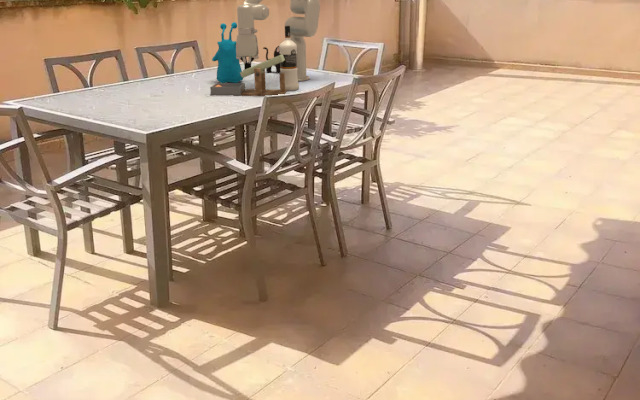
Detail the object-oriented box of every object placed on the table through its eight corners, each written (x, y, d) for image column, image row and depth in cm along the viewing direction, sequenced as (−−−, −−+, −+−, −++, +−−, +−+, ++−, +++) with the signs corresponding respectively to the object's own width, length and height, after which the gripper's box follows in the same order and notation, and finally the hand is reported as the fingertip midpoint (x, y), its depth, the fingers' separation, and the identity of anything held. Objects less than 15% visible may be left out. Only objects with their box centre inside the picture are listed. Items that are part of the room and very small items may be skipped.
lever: (289, 59, 330) (285, 51, 328) (284, 64, 314) (280, 55, 313) (248, 76, 334) (245, 68, 333) (241, 82, 319) (237, 73, 318)
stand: (286, 91, 327) (285, 64, 323) (283, 96, 317) (282, 68, 313) (246, 91, 329) (245, 65, 325) (241, 95, 319) (239, 68, 315)
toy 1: (247, 78, 364) (244, 20, 354) (245, 84, 347) (242, 23, 337) (216, 79, 364) (212, 20, 354) (212, 85, 347) (207, 24, 337)
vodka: (292, 87, 338) (290, 24, 328) (302, 89, 331) (301, 25, 321) (276, 89, 334) (273, 25, 324) (286, 92, 326) (283, 27, 316)
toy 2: (284, 74, 375) (284, 46, 370) (261, 73, 380) (259, 45, 375) (291, 72, 382) (290, 44, 377) (267, 71, 387) (266, 43, 382)
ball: (214, 86, 326) (220, 82, 326) (217, 93, 327) (224, 89, 326) (212, 87, 323) (218, 84, 322) (215, 94, 324) (222, 91, 323)
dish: (216, 91, 331) (215, 83, 329) (245, 91, 329) (244, 83, 328) (210, 95, 321) (210, 87, 320) (240, 95, 319) (240, 87, 318)
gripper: (263, 31, 327) (264, 70, 333) (232, 31, 328) (234, 70, 334) (260, 32, 320) (261, 72, 326) (228, 32, 321) (230, 72, 327)
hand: (248, 71), depth 330 cm, fingers closed
